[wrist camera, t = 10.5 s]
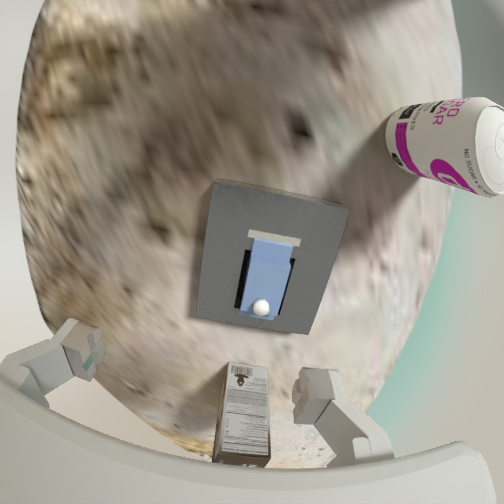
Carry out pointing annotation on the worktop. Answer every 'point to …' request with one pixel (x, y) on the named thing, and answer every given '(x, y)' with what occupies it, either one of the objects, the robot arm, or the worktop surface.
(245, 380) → the coffee box
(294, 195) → the plate
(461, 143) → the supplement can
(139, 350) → the worktop surface
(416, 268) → the worktop surface
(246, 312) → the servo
